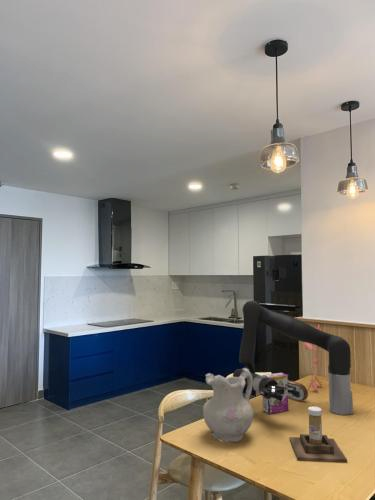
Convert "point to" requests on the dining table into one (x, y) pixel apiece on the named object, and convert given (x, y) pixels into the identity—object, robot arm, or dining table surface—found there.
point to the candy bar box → (274, 404)
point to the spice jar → (315, 425)
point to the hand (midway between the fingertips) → (290, 396)
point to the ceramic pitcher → (229, 407)
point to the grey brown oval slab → (301, 389)
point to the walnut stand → (316, 449)
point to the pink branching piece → (314, 362)
